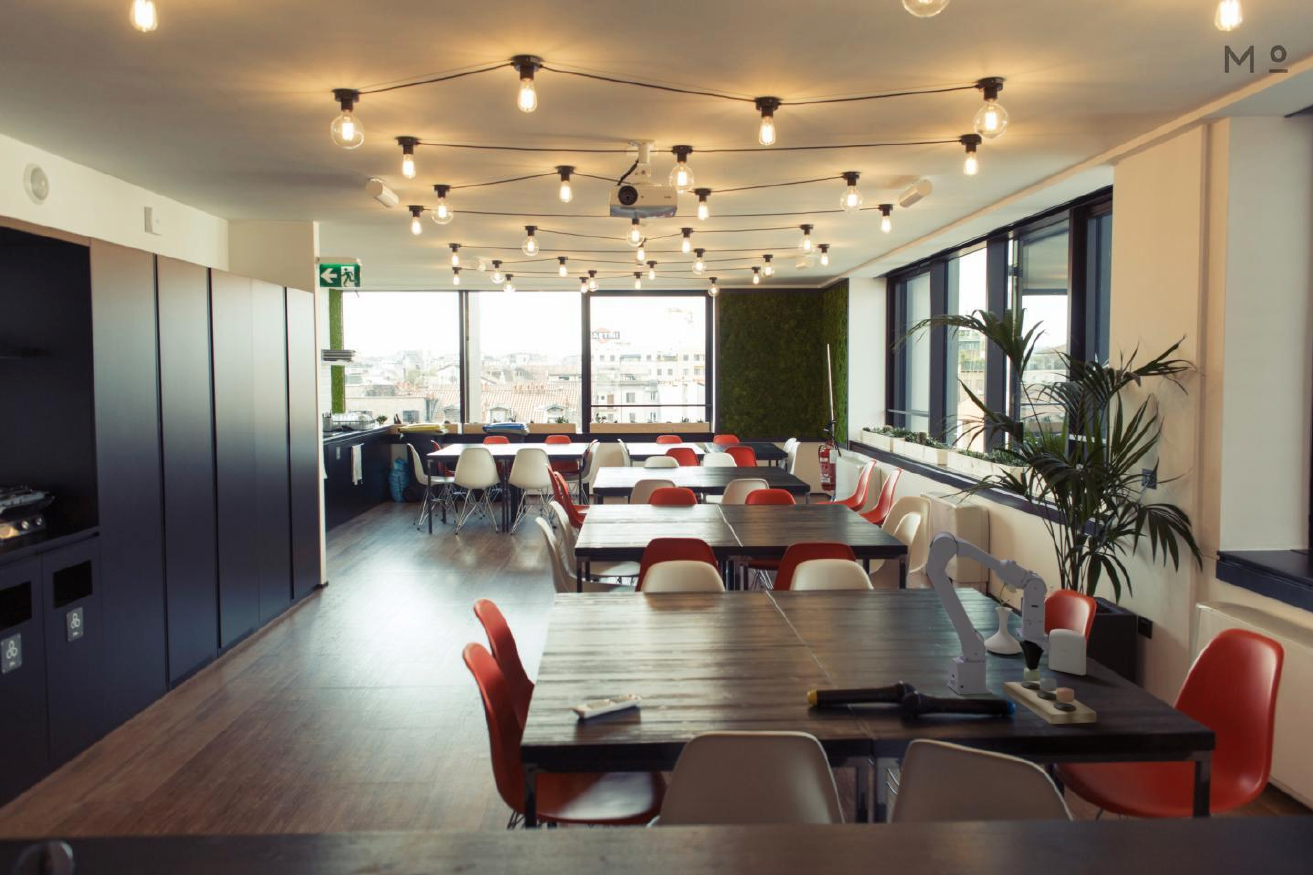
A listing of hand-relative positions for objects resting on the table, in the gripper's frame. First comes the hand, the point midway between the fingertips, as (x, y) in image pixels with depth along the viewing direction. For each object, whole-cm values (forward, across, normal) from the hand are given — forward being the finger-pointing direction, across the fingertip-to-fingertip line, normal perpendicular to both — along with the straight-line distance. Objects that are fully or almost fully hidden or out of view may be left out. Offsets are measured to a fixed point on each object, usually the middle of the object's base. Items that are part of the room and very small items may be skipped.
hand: (1032, 668), depth 240 cm
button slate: (+3, -8, 0) cm, 8 cm away
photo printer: (+8, +18, -21) cm, 29 cm away
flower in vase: (+8, +39, -12) cm, 41 cm away
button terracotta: (+3, -16, 0) cm, 16 cm away
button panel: (+7, -8, 0) cm, 11 cm away
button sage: (+3, 0, 0) cm, 3 cm away
